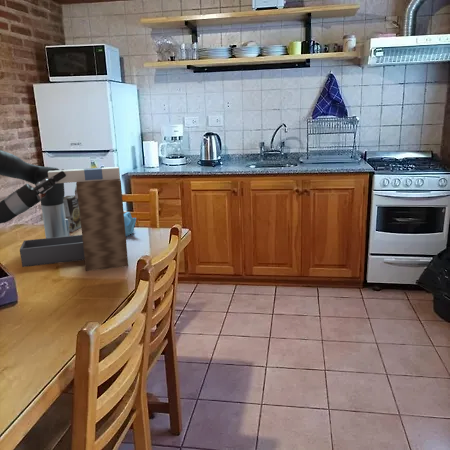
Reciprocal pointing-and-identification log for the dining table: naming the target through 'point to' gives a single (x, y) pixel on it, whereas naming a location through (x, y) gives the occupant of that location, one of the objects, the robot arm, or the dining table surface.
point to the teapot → (129, 223)
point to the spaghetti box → (87, 174)
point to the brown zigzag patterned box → (102, 223)
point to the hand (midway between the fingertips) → (64, 172)
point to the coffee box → (72, 212)
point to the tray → (52, 250)
